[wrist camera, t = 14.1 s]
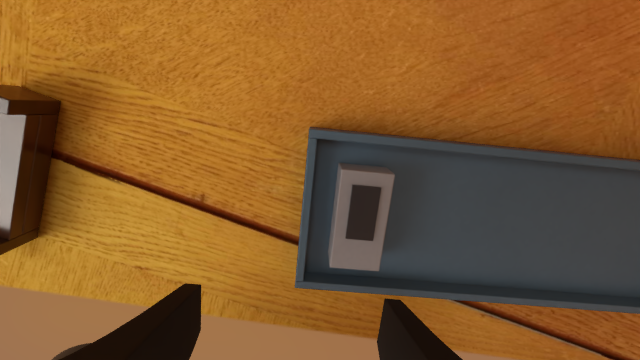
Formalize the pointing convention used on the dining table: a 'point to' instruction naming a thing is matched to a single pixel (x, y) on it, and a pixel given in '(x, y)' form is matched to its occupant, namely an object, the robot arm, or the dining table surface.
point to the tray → (482, 223)
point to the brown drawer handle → (24, 161)
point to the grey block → (359, 216)
